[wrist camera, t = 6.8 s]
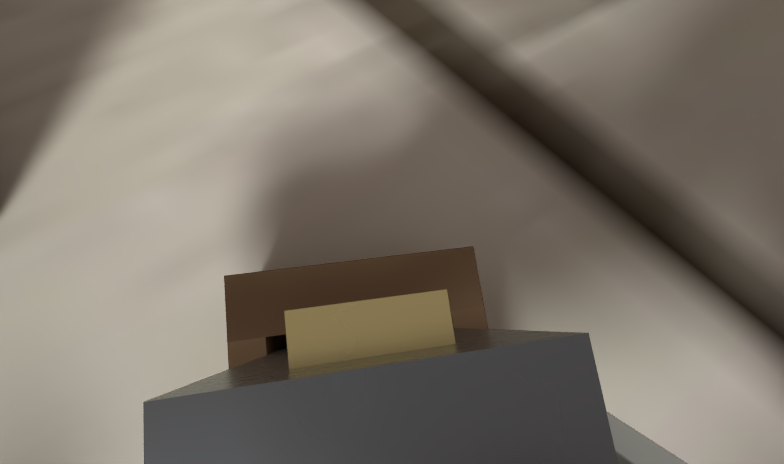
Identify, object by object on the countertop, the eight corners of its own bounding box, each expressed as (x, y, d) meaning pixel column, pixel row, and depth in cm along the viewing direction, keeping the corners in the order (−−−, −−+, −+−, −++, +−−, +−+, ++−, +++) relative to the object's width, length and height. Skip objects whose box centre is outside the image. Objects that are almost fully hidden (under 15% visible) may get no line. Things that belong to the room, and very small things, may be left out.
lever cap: (430, 404, 16) (654, 624, 4) (300, 426, 15) (146, 759, 4) (415, 306, 17) (572, 267, 5) (291, 323, 16) (143, 323, 4)
